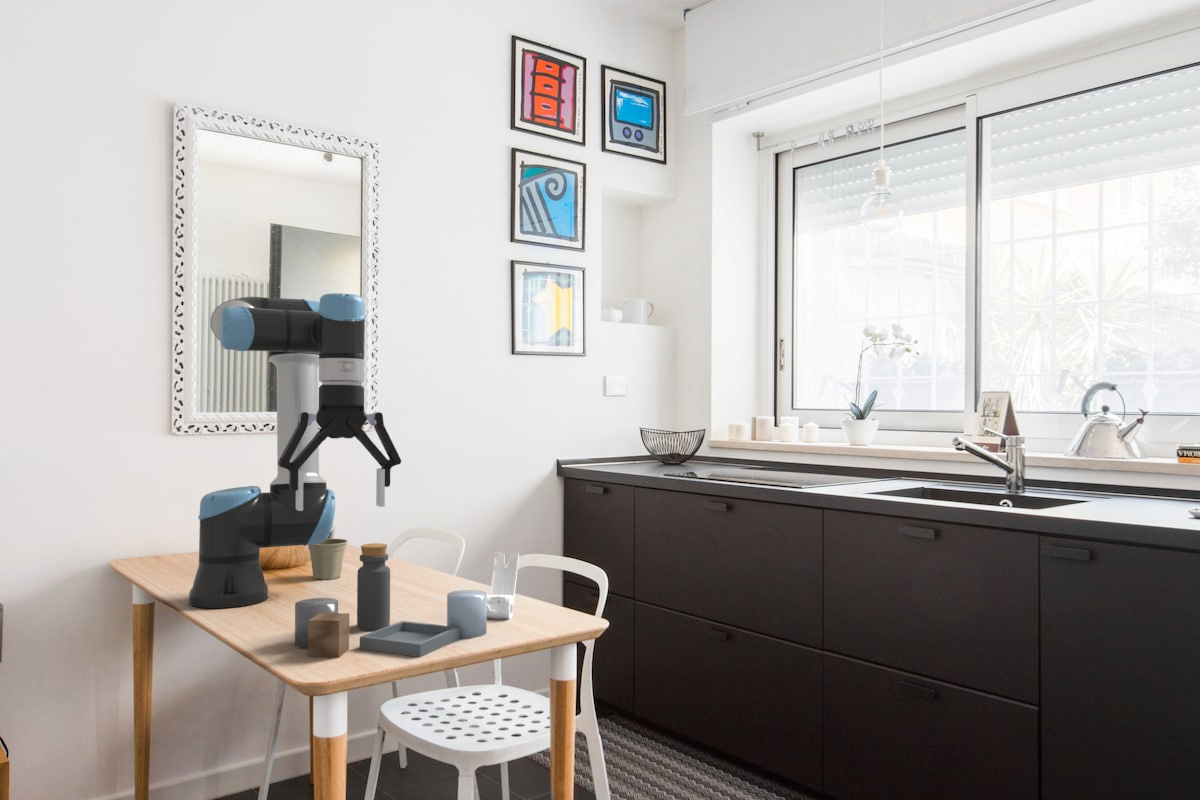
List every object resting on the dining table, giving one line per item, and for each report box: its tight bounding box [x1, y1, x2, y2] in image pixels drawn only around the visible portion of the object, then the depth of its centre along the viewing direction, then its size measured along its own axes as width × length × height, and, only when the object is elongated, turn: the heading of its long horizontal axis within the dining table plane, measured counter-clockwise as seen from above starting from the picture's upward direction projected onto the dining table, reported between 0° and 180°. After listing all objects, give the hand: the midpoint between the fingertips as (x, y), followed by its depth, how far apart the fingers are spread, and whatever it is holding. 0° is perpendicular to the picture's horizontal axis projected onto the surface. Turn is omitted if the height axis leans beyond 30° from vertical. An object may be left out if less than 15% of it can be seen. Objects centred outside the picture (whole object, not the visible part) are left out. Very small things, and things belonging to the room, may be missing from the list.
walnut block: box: [307, 612, 350, 659], centre depth 141 cm, size 5×5×6 cm
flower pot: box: [307, 538, 349, 581], centre depth 204 cm, size 9×9×9 cm
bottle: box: [356, 542, 391, 632], centre depth 158 cm, size 6×6×15 cm
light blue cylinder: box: [446, 589, 488, 639], centre depth 154 cm, size 7×7×7 cm
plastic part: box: [487, 551, 520, 620], centre depth 169 cm, size 8×10×12 cm
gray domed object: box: [294, 597, 339, 650], centre depth 147 cm, size 7×7×7 cm
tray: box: [359, 620, 461, 658], centre depth 147 cm, size 12×12×2 cm
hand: (340, 508), depth 147 cm, fingers open, 13 cm apart
